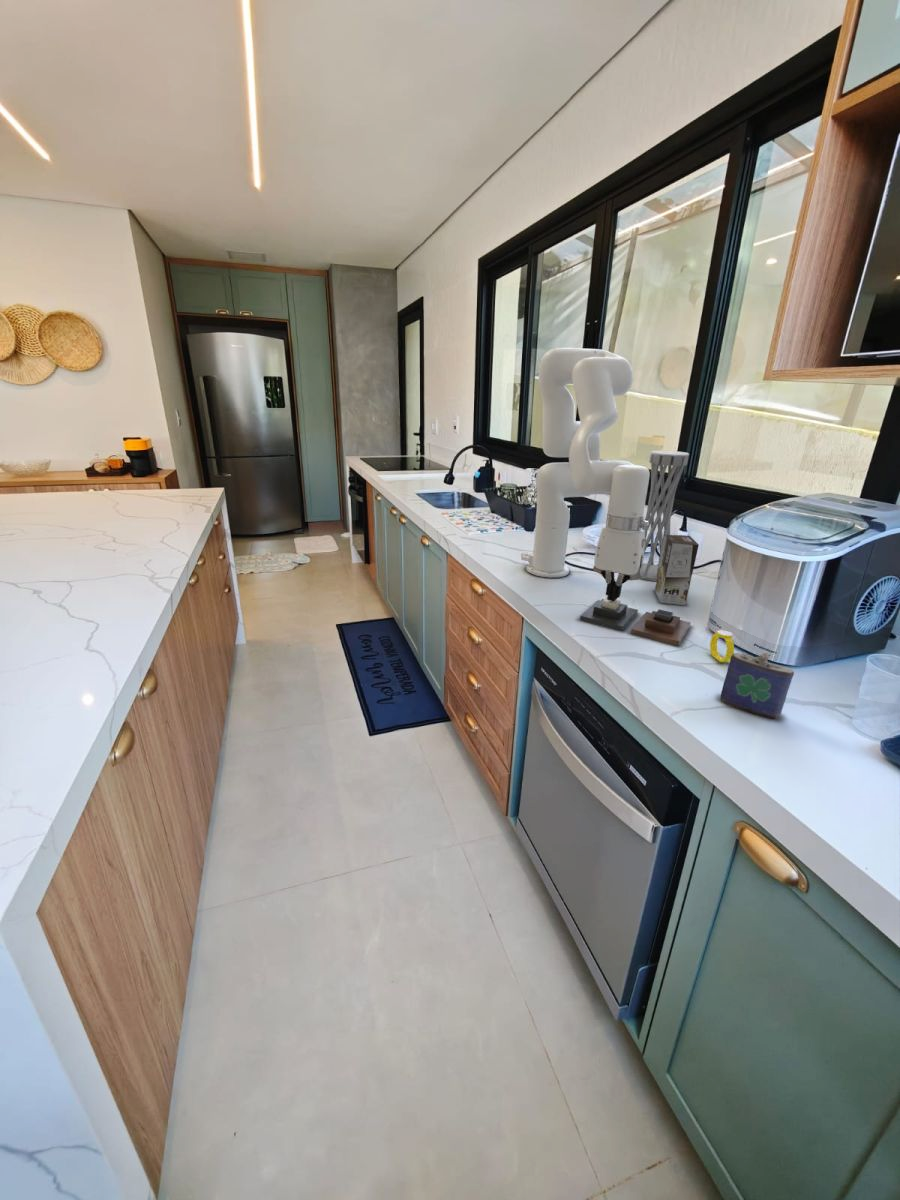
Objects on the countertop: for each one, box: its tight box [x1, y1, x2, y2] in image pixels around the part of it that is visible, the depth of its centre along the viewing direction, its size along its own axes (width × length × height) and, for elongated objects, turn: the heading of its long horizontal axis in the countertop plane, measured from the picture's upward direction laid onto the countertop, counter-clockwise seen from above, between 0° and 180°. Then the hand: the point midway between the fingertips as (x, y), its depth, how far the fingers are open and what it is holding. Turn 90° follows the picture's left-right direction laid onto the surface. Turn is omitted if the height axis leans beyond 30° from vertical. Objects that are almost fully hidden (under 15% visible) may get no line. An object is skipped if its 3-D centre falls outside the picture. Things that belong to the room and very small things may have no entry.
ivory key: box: [602, 597, 621, 610], centre depth 119 cm, size 3×3×2 cm
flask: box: [719, 651, 795, 720], centre depth 85 cm, size 9×3×11 cm, turn 51°
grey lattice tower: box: [639, 450, 690, 582], centre depth 144 cm, size 14×13×35 cm
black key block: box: [579, 598, 639, 632], centre depth 120 cm, size 10×12×3 cm
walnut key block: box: [630, 610, 692, 647], centre depth 114 cm, size 10×12×3 cm
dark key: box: [654, 608, 674, 623], centre depth 113 cm, size 3×3×2 cm
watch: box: [709, 629, 735, 663], centre depth 101 cm, size 6×3×6 cm, turn 4°
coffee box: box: [654, 534, 700, 606], centre depth 130 cm, size 9×6×16 cm
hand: (612, 599), depth 119 cm, fingers closed
